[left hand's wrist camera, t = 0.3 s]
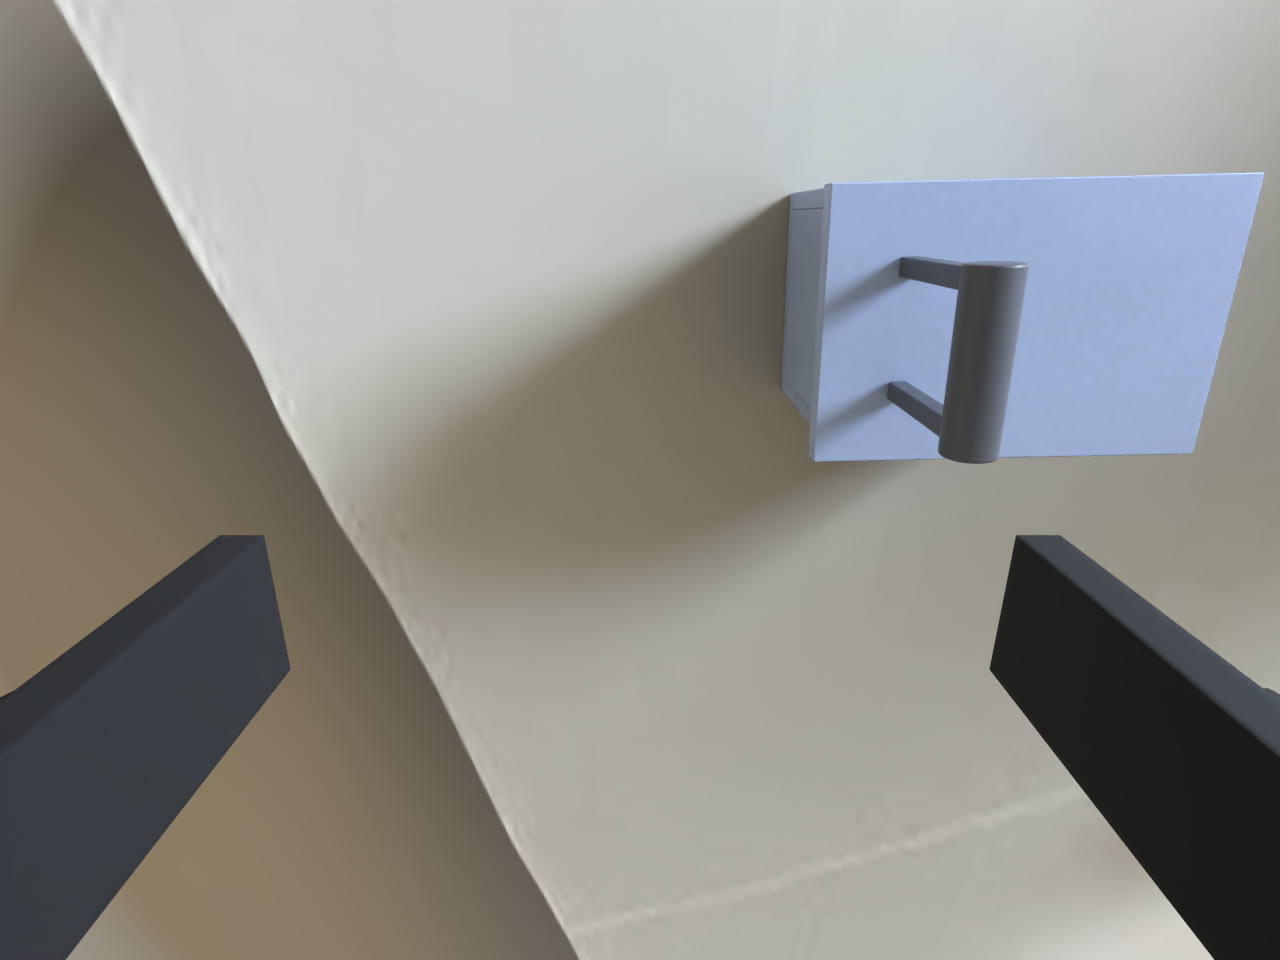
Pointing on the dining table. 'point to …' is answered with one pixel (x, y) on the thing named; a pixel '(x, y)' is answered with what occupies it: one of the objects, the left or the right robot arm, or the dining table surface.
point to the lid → (1023, 314)
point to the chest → (802, 297)
